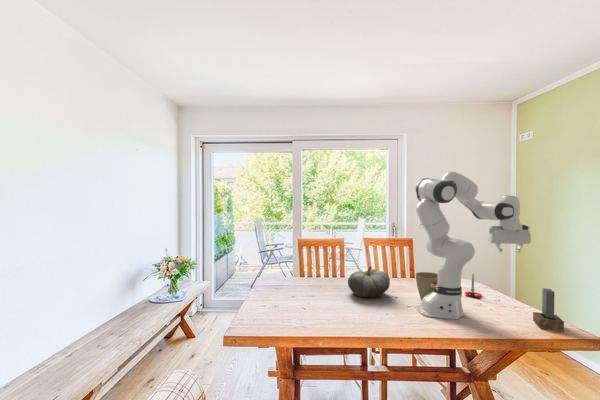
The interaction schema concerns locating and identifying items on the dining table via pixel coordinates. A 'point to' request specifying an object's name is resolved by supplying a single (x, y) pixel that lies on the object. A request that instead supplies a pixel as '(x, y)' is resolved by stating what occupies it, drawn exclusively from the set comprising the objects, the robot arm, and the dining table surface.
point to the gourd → (369, 283)
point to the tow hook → (472, 293)
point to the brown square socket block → (548, 322)
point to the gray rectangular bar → (548, 304)
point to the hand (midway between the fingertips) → (509, 251)
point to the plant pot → (425, 283)
